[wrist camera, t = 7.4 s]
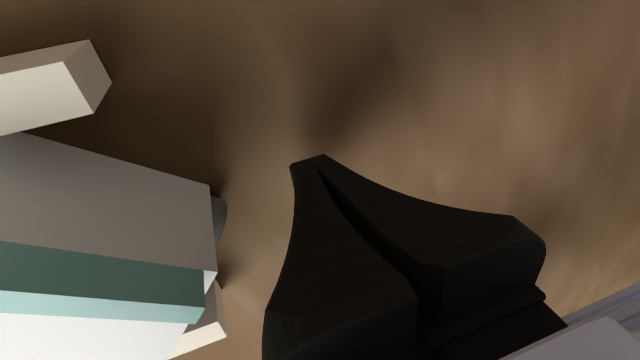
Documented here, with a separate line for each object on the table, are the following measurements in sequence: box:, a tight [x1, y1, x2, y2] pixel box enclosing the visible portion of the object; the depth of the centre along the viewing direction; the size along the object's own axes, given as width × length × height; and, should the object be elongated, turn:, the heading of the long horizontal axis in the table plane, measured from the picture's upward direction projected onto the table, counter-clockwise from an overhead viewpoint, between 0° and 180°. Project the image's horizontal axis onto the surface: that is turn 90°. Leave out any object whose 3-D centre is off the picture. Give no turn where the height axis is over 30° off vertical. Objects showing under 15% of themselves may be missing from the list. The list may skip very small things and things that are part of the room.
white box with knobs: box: [0, 132, 227, 360], centre depth 9 cm, size 7×5×6 cm
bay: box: [0, 39, 227, 359], centre depth 10 cm, size 11×9×2 cm
